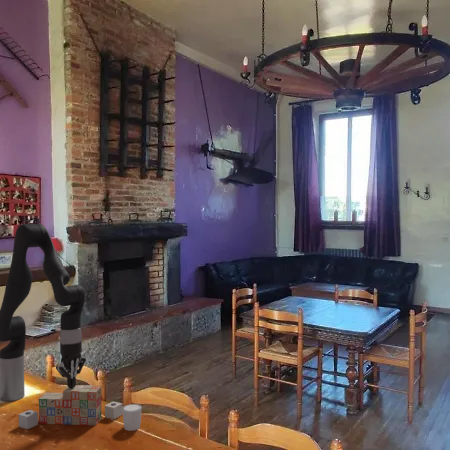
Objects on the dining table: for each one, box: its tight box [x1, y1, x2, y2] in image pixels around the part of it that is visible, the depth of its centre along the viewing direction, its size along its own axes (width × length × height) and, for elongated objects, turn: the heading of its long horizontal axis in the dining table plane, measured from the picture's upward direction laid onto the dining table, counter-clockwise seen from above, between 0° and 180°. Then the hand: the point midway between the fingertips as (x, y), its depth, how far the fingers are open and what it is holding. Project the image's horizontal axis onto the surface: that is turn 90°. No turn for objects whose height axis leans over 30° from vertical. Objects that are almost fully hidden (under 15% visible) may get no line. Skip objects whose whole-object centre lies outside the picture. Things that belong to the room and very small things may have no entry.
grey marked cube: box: [18, 409, 39, 430], centre depth 169 cm, size 4×4×5 cm
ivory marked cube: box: [104, 401, 123, 420], centre depth 176 cm, size 4×4×5 cm
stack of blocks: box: [38, 384, 103, 426], centre depth 173 cm, size 21×6×12 cm, turn 86°
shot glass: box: [122, 403, 143, 432], centre depth 167 cm, size 7×7×7 cm
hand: (71, 387), depth 172 cm, fingers closed
